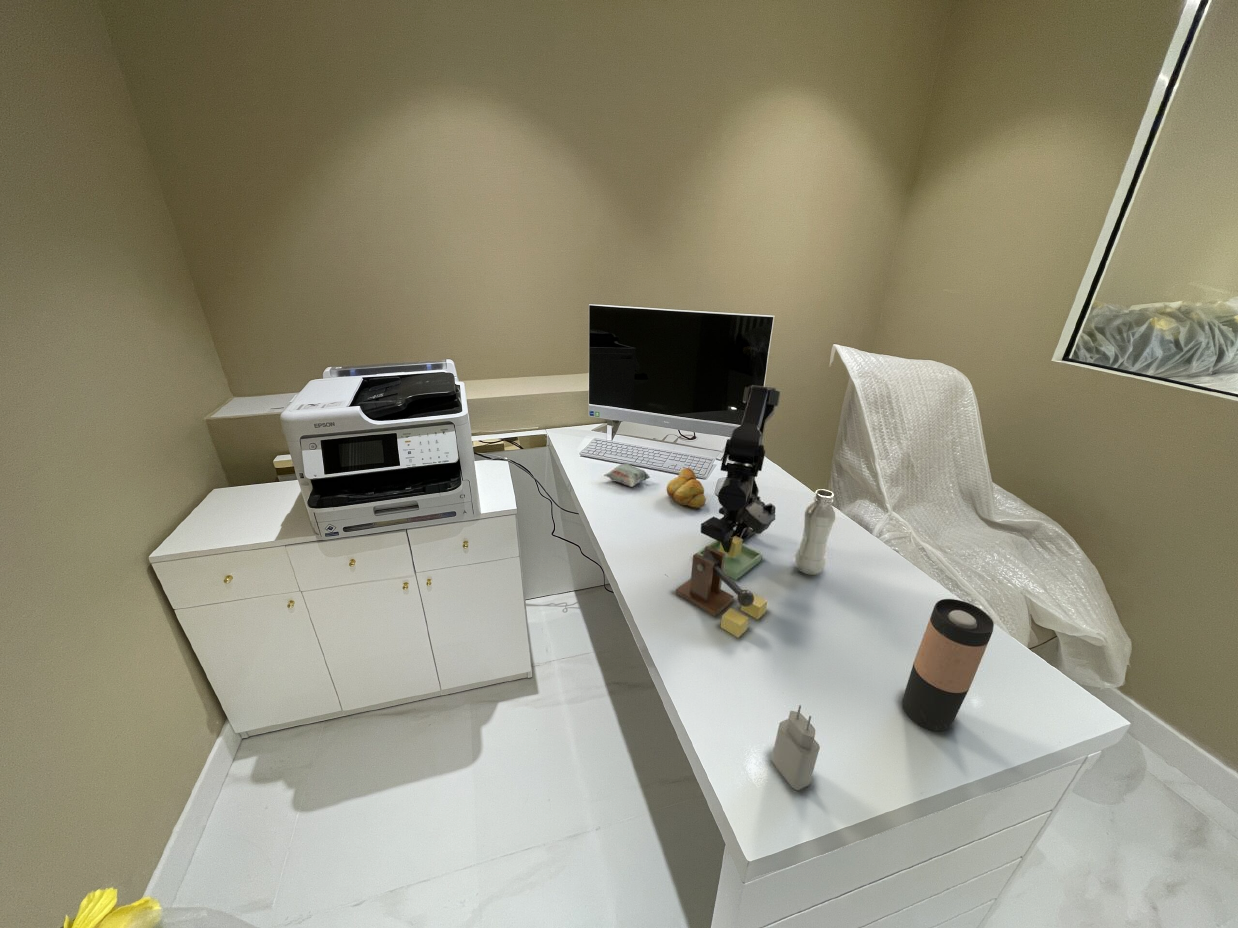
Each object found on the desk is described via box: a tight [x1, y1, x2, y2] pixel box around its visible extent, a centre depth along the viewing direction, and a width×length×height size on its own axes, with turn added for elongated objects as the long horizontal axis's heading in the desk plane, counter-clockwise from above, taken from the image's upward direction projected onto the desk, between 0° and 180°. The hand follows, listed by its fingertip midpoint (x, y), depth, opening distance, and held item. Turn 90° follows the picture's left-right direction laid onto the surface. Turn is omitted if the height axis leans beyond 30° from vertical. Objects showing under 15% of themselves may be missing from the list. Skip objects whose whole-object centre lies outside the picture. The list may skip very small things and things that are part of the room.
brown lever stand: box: [675, 545, 735, 617], centre depth 104 cm, size 10×7×11 cm
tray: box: [696, 540, 763, 581], centre depth 119 cm, size 11×11×2 cm
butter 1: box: [720, 607, 749, 638], centre depth 97 cm, size 3×4×3 cm
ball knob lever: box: [703, 552, 754, 607], centre depth 100 cm, size 13×3×3 cm, turn 46°
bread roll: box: [666, 467, 707, 508], centre depth 144 cm, size 13×10×8 cm
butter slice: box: [719, 536, 744, 559], centre depth 117 cm, size 3×4×4 cm
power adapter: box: [770, 704, 821, 791], centre depth 69 cm, size 3×5×12 cm, turn 25°
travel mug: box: [901, 598, 995, 732], centre depth 77 cm, size 8×8×20 cm
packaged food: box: [603, 463, 651, 488], centre depth 154 cm, size 9×12×5 cm
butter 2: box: [740, 592, 768, 620], centre depth 102 cm, size 3×4×3 cm
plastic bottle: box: [794, 488, 836, 576], centre depth 112 cm, size 6×7×20 cm
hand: (730, 549), depth 118 cm, fingers closed on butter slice, 3 cm apart
